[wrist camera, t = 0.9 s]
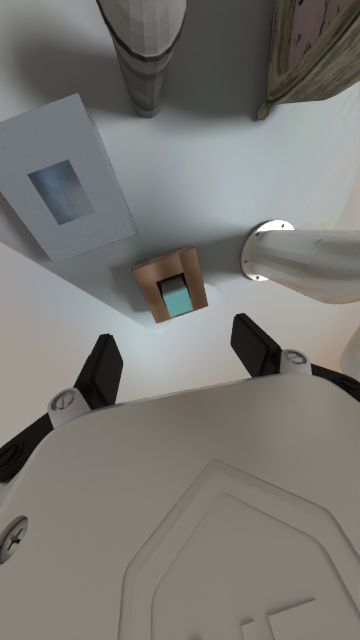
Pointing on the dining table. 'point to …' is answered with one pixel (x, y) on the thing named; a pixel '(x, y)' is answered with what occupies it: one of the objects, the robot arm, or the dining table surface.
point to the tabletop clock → (312, 51)
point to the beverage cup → (144, 45)
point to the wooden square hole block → (165, 267)
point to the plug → (175, 295)
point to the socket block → (62, 179)
